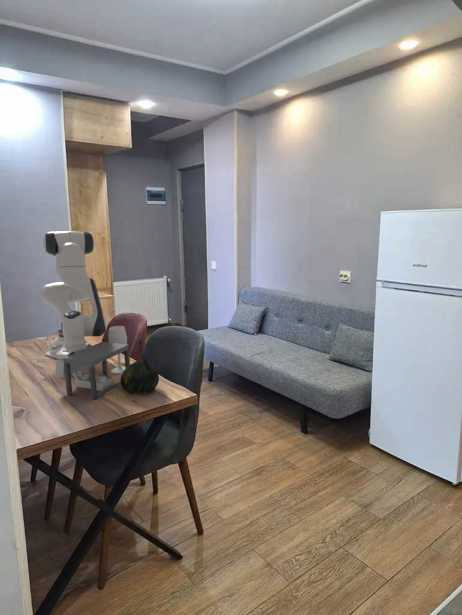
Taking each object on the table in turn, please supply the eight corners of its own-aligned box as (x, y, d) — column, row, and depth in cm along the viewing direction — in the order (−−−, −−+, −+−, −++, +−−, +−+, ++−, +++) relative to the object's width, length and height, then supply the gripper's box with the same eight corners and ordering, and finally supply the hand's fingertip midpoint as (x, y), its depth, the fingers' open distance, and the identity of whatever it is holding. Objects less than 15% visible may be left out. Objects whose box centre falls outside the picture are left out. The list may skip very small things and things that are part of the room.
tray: (75, 386, 179) (74, 375, 178) (85, 381, 185) (84, 371, 184) (102, 390, 174) (101, 380, 173) (111, 385, 179) (111, 375, 178)
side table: (67, 395, 170) (63, 358, 166) (105, 375, 191) (102, 341, 188) (95, 400, 164) (91, 361, 161) (131, 379, 186) (128, 344, 183)
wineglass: (124, 374, 192) (121, 330, 187) (107, 373, 193) (103, 329, 189) (132, 368, 200) (129, 325, 196) (115, 367, 202) (112, 325, 197)
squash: (113, 376, 175) (122, 356, 165) (146, 369, 184) (156, 350, 174) (124, 406, 168) (134, 387, 158) (157, 397, 177) (169, 379, 168)
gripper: (86, 342, 189) (89, 371, 192) (51, 355, 171) (55, 387, 174) (97, 343, 187) (100, 372, 190) (63, 357, 169) (67, 389, 171)
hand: (78, 380), depth 182 cm, fingers closed
